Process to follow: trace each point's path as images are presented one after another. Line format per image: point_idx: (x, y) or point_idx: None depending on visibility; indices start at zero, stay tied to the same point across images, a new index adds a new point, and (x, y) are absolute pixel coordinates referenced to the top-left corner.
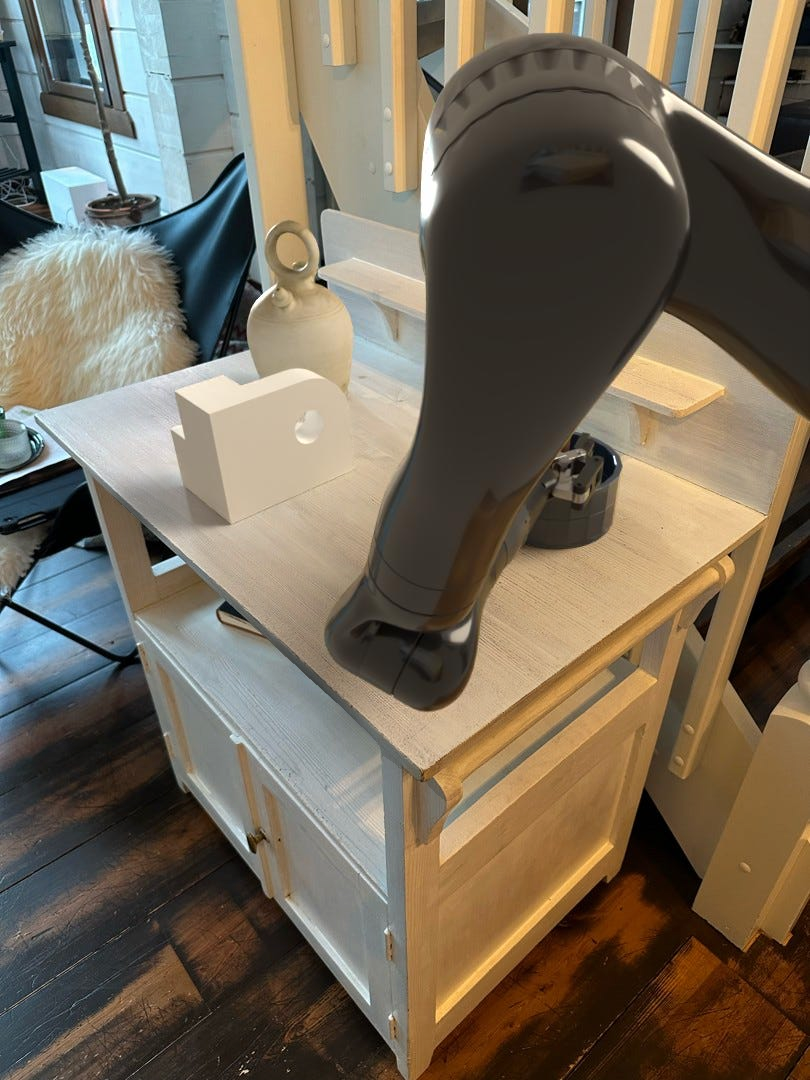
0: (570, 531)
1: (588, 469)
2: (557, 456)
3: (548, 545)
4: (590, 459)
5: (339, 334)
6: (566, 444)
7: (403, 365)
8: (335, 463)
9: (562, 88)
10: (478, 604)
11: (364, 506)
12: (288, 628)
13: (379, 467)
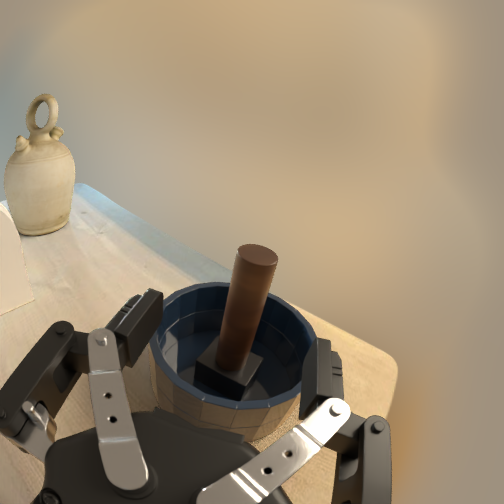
0: (258, 432)
1: (375, 474)
2: (300, 456)
3: None
4: (367, 434)
5: (56, 174)
6: (257, 320)
7: (115, 206)
8: (13, 294)
9: None
10: None
11: (25, 352)
12: None
13: (56, 300)
